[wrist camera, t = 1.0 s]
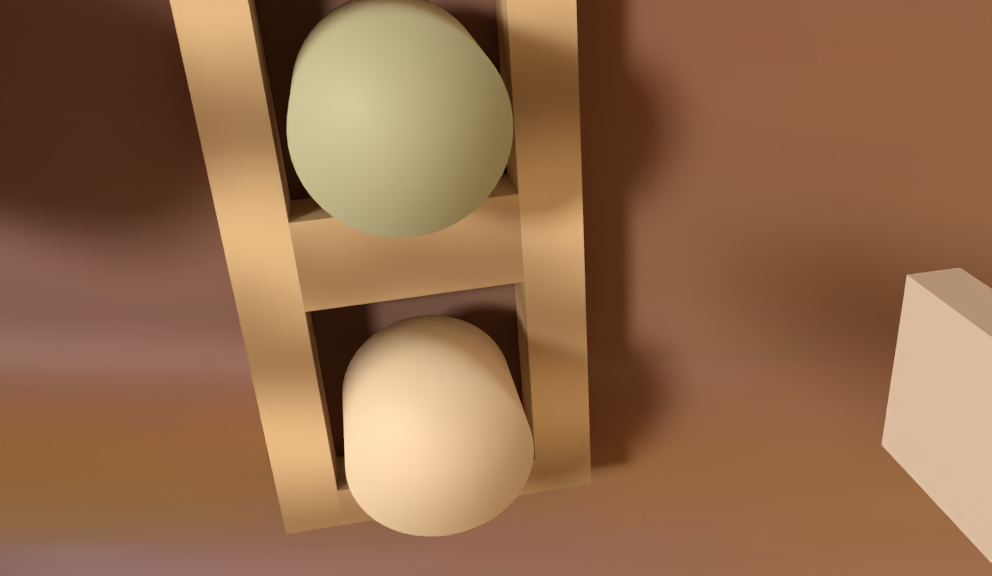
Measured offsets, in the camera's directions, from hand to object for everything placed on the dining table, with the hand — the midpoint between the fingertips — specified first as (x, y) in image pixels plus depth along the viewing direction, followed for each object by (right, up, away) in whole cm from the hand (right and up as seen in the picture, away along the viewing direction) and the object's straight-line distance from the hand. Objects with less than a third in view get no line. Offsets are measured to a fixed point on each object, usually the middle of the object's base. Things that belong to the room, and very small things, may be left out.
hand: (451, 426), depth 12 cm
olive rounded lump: (-2, +7, +15) cm, 16 cm away
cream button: (-2, -2, +19) cm, 19 cm away
